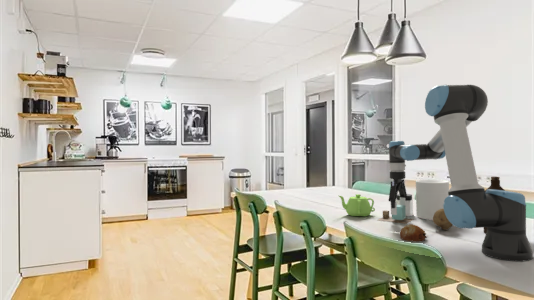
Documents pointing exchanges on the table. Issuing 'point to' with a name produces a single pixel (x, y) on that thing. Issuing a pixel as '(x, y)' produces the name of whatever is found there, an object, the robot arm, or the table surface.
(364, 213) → the teapot
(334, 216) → the table surface
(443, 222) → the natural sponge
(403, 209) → the teal block
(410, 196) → the jar
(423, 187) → the canister
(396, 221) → the board
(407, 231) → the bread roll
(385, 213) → the stub post
